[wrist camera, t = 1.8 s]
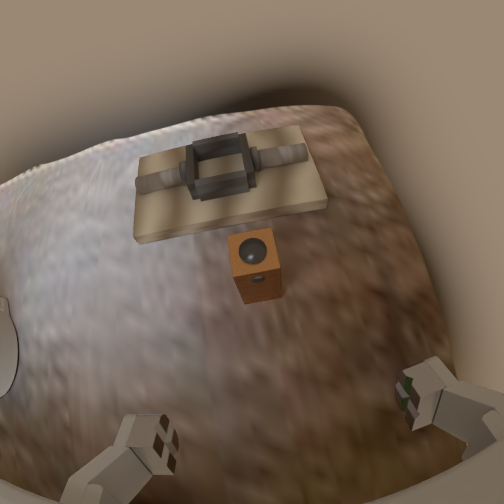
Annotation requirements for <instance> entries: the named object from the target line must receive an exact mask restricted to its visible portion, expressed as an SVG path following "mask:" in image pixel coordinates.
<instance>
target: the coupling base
mask: <svg viewBox="0 0 504 504" xmlns="http://www.w3.org/2000/svg"><path fill="white" fill-rule="evenodd" d="M135 186H136V200H135V214H134V232H133V237H134V239H135V240H136V241H137V242H138V243H139V244H140V245H141V244H145V243H150V242H154V241H159V240H164V239H168V238H173V237H178V236H183V235H187V234H192V233H197V232H202V231H207V230H212V229H217V228H222V227H227V226H232V225H237V224H242V223H248V222H253V221H258V220H263V219H269V218H274V217H280V216H285V215H291V214H296V213H302V212H307V211H313V210H319V209H325V208H326V207H327V202H328V197H327V195H326V192H325V189H324V187H323V184H322V181H321V179H320V176H319V174H318V171H317V169H316V166H315V164H314V161H313V159H312V156H311V154H310V152H309V149H308V147H307V144H306V142H305V140H304V137H303V135H302V133H301V130H300V128H299V126H298V125H295V126H288V127H281V128H274V129H268V130H261V131H255V132H250V133H244V134H238V132H236V133H231V134H226V135H221V136H216V137H211V138H207V139H202V140H198V141H193V144H191V145H187V146H183V147H179V148H175V149H171V150H167V151H163V152H159V153H156V154H152V155H148V156H145V157H141V158H140V160H139V169H138V177H137V178H136V179H135Z"/></svg>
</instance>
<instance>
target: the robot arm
mask: <svg viewBox="0 0 504 504" xmlns="http://www.w3.org/2000/svg"><path fill="white" fill-rule="evenodd" d="M17 359H18V345H17V336H16V332H15V328H14V325H13V323H12V321H11V318H10V315H9V307H8V301H7V299H6V298H3V297H0V397H2V396H3V395H4V394H5V393H6V392H7V391H8V390H9V388H10V386H11V384H12V382H13V379H14V376H15V372H16V367H17ZM397 379H398V381H399V383H398V384H397V385H396V387H395V398H396V402H397V405H398V407H399V409H400V410H401V411H404V412H406V415H405V420H406V421H407V423H408V425H409V427H410V429H411V430H412V431H413V430H416V429H418V428H421V427H424V426H426V425H428V424H431V423H432V424H433V425H435V426H437V427H439V428H440V429H442V430H444V431H446V432H448V433H449V434H451V435H453V436H455V437H457V438H458V439H460V440H462V441H464V442H466V443H468V446H467V448H466V449H465V451H464V453H463V455H462V457H461V458H462V460H463V462H461V463H460V464H458V465H456V466H454V467H452V468H450V469H448V470H446V471H444V472H442V473H440V474H438V475H436V476H434V477H432V478H430V479H428V480H425V481H423V482H421V483H419V484H416V485H414V486H412V487H409V488H407V489H404V490H402V491H399V492H397V493H394V494H391V495H388V496H386V497H383V498H380V499H377V500H374V501H371V502H368V503H364V504H504V394H503V393H500V392H497V391H493V390H490V389H487V388H484V387H481V386H477V385H475V384H472V383H468V382H465V381H462V380H461V381H459V382H458V380H457V379H456V378H455V377H454V376H453V374H452V373H451V372H450V371H449V370H448V368H447V367H446V366H445V365H444V364H443V363H442V361H441V360H440V359H439V358H438V357H437V356H433V357H431V358H428V359H426V360H423V361H421V362H418V363H415V364H413V365H410V366H407V367H405V368H402V369H399V370H398V372H397ZM178 448H179V441H178V436H177V433H176V431H175V429H174V428H173V427H171V426H169V419H168V418H167V416H166V415H164V414H127V415H126V416H125V417H124V418H123V421H122V424H121V426H120V429H119V432H118V434H117V437H116V440H115V442H114V445H113V446H109V447H108V448H107V449H105V450H104V451H103V452H102V453H100V454H99V455H98V456H97V457H95V458H94V459H93V460H92V461H90V462H89V463H88V464H86V465H85V466H84V467H83V468H81V469H80V470H79V471H77V472H76V473H75V474H73V475H72V476H71V477H69V479H68V482H67V484H66V487H65V489H64V492H63V494H62V497H61V499H60V502H56V501H53V500H50V499H47V498H44V497H42V496H39V495H36V494H34V493H31V492H29V491H26V490H24V489H22V488H19V487H17V486H15V485H12V484H10V483H8V482H6V481H4V480H2V479H0V504H129V503H130V501H131V500H132V499H133V498H134V497H135V496H136V495H137V494H138V492H139V491H140V490H141V489H142V488H143V487H144V486H145V484H146V483H147V482H148V481H149V480H150V479H151V477H152V476H153V475H174V471H175V466H176V460H175V458H174V457H173V456H174V455H175V454H176V453H177V452H178Z"/></svg>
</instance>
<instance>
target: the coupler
mask: <svg viewBox="0 0 504 504" xmlns="http://www.w3.org/2000/svg"><path fill="white" fill-rule="evenodd" d="M227 239H228V246H229V253H230V260H231V267H232V274H233V278H234V281H235V283H236V285H237V288H238V290H239V293H240V295H241V297H242V300H243V302H244V304H251V303H256V302H262V301H267V300H272V299H277V298H281V268H280V263H279V259H278V254H277V250H276V245H275V241H274V236H273V232H272V228H271V227H270V228H265V229H260V230H254V231H249V232H244V233H239V234H234V235H228V236H227Z"/></svg>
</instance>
